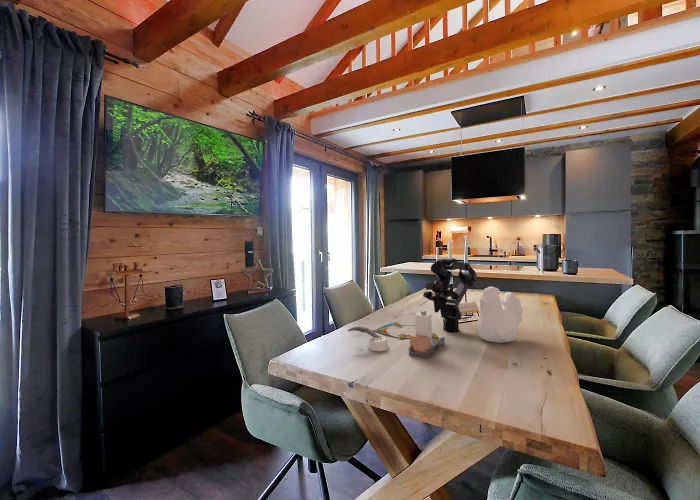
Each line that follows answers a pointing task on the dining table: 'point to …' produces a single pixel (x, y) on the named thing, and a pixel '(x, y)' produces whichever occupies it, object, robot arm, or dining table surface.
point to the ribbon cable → (383, 331)
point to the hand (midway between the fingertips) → (435, 312)
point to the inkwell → (373, 339)
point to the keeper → (423, 324)
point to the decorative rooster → (499, 316)
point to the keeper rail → (433, 348)
